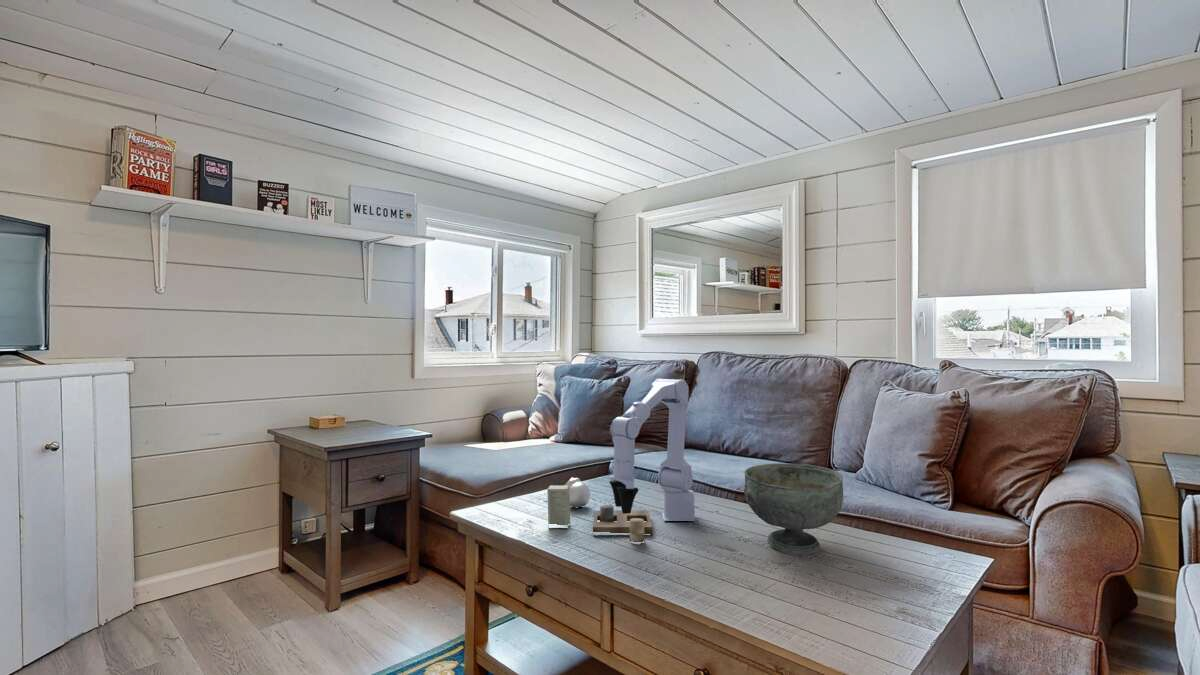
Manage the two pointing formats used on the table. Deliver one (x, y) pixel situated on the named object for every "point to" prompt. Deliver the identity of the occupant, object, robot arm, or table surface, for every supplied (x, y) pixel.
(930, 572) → the table surface
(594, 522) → the pocket board
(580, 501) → the ghost figurine
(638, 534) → the birch peg
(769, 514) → the decorative bowl
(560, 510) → the skincare box
